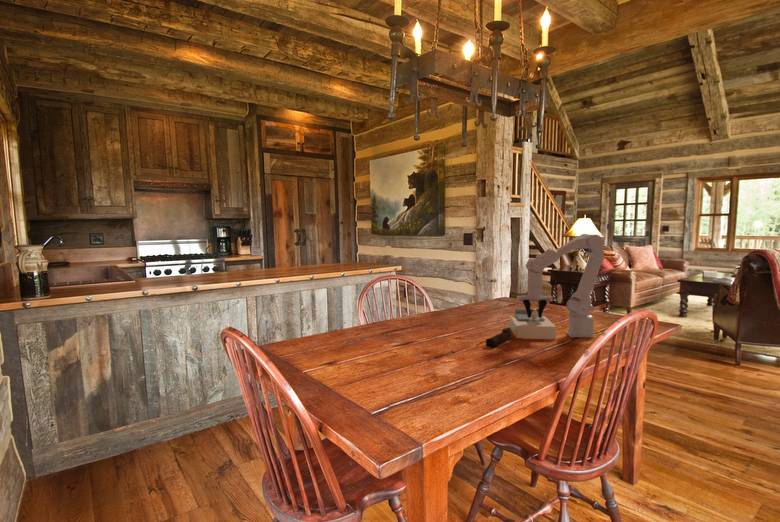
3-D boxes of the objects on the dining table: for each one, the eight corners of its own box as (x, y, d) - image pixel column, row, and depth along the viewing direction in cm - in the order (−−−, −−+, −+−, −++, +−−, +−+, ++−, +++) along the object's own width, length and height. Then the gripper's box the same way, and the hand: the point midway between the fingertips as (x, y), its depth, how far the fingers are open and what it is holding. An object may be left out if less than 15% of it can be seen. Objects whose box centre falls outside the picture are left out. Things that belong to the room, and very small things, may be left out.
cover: (538, 314, 187) (538, 309, 187) (544, 320, 176) (544, 314, 176) (514, 314, 189) (514, 308, 188) (519, 320, 178) (519, 314, 177)
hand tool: (494, 349, 157) (494, 337, 157) (485, 347, 160) (485, 336, 160) (516, 338, 171) (516, 328, 170) (507, 336, 174) (508, 326, 173)
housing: (544, 327, 186) (545, 316, 185) (555, 339, 168) (555, 326, 168) (509, 327, 188) (509, 315, 187) (516, 338, 170) (516, 325, 170)
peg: (537, 319, 174) (538, 308, 174) (540, 321, 170) (540, 310, 170) (528, 319, 175) (528, 308, 174) (530, 321, 171) (530, 310, 170)
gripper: (519, 287, 168) (518, 319, 169) (555, 287, 166) (554, 319, 167) (516, 285, 175) (515, 315, 176) (550, 285, 173) (549, 315, 174)
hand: (534, 317), depth 172 cm, fingers closed on peg, 4 cm apart
